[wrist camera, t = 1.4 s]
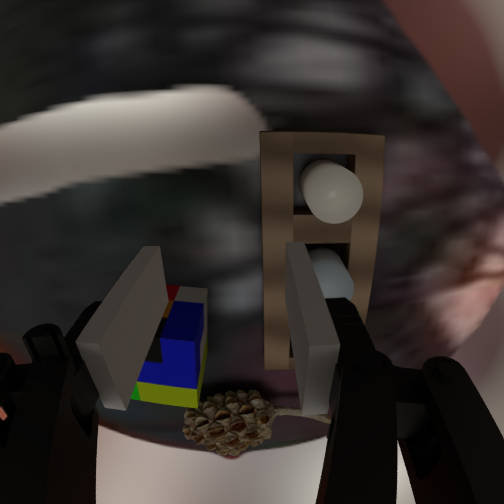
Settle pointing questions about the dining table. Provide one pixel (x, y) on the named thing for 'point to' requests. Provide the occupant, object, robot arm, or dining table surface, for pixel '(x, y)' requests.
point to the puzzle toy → (177, 351)
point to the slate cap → (331, 273)
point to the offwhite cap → (331, 191)
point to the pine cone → (235, 421)
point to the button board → (314, 223)
